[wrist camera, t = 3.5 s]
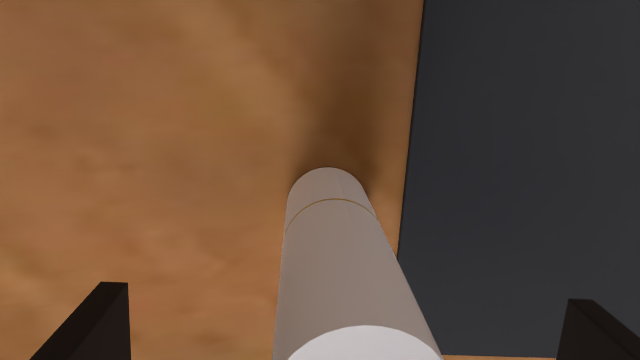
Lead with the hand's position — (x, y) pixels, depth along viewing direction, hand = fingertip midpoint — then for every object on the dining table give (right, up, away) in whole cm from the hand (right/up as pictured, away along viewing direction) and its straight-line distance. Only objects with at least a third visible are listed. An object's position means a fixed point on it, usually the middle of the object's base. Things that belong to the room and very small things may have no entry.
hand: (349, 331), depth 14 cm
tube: (0, +3, +11) cm, 12 cm away
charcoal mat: (+12, +4, +11) cm, 17 cm away
